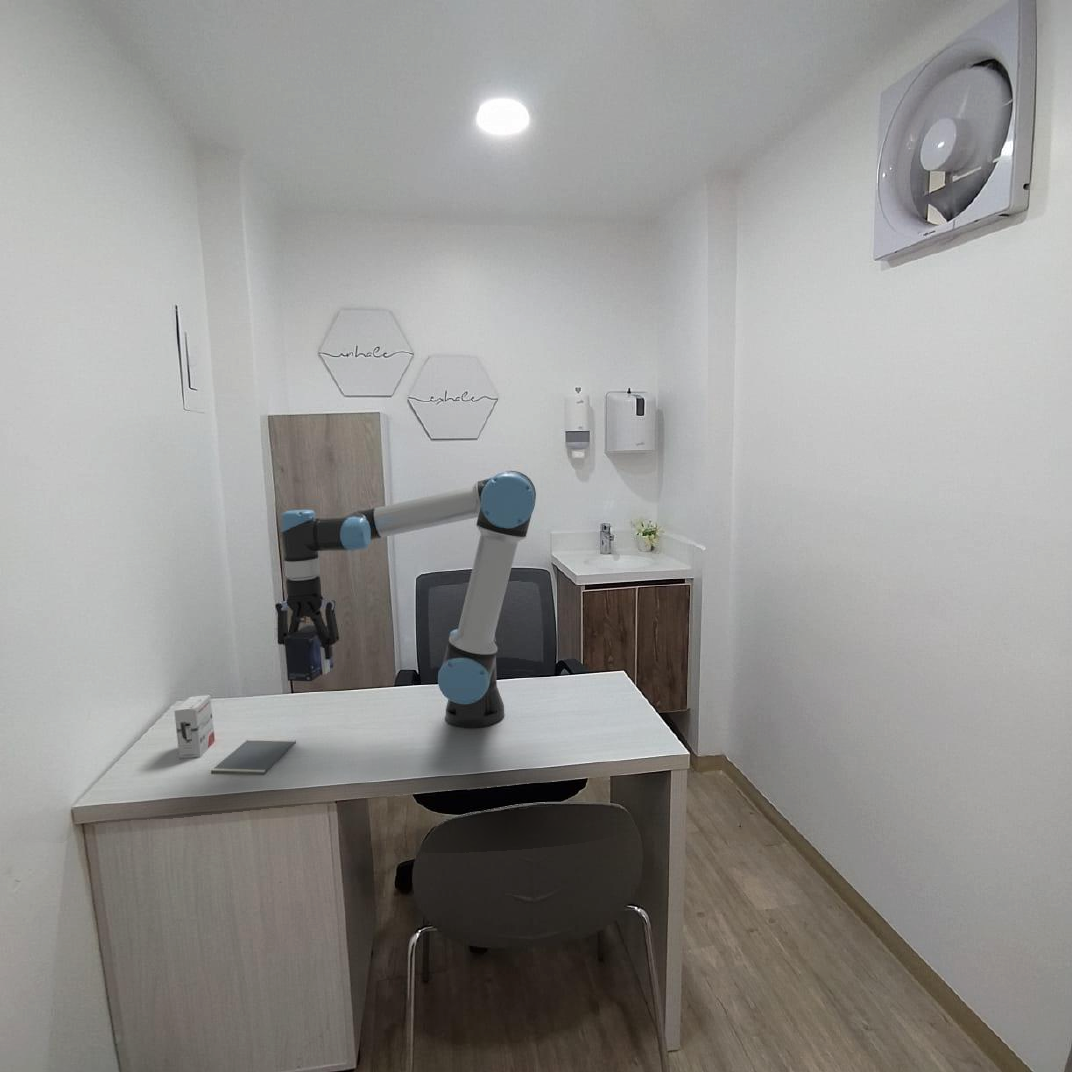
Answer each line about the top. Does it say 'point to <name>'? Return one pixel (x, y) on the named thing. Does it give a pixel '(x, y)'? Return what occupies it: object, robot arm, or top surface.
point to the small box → (304, 654)
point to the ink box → (194, 726)
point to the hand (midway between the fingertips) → (311, 672)
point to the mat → (254, 757)
